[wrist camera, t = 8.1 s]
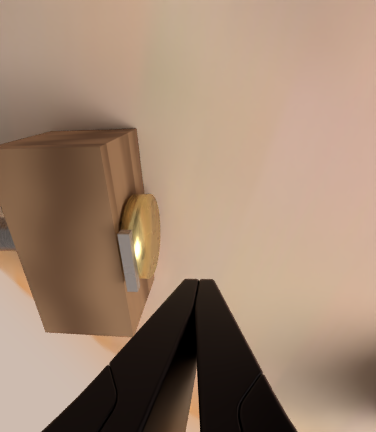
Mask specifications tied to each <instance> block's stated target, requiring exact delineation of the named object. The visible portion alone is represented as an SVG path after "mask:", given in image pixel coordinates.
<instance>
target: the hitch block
mask: <svg viewBox="0 0 376 432" xmlns="http://www.w3.org/2000/svg"><path fill="white" fill-rule="evenodd" d="M133 194H144V188H143V180H142V171H141V163H140V154H139V146H138V138H137V129H109V130H80V131H50V132H46V133H43V134H39V135H35V136H31V137H27V138H24V139H20V140H16V141H12V142H8V143H5V144H1V145H0V206H1V208H2V211H3V214H4V217H5V220H6V222H7V225H8V228H9V231H10V234H11V236H12V239H13V242H14V245H15V248H16V250H17V253H18V256H19V259H20V262H21V264H22V267H23V270H24V273H25V276H26V278H27V281H28V284H29V287H30V290H31V292H32V295H33V298H34V301H35V303H36V306H37V309H38V312H39V315H40V317H41V320H42V323H43V326H44V329H45V332H50V333H67V334H85V335H101V336H118V337H133V336H134V335H135V332H136V329H137V326H138V323H139V321H140V318H141V315H142V312H143V309H144V306H145V303H146V301H147V298H148V295H149V292H150V289H151V286H152V284H153V281H154V274H153V276H152V277H151V278H150V279H139V281H140V288H139V291H138V292H127V287H126V281H125V275H124V270H123V264H122V258H121V252H120V247H119V241H118V235H117V234H118V233H119V231H120V230H121V228H120V222H121V221H122V217H123V212H124V209H125V206H126V203H127V201H128V199H129V198H130V196H131V195H133Z"/></svg>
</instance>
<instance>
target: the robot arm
mask: <svg viewBox="0 0 376 432" xmlns="http://www.w3.org/2000/svg"><path fill="white" fill-rule="evenodd" d="M109 365H110V366H109ZM109 365H107V366H106V367H105V368H104V369H103V370H102V371H101V373H100V374H99V375H98V376H97V377H96V378H95V379H94V380H93V381H92V382H91V383H90V384H89V385H88V387H87V388H86V389H85V390H84V391H83V392H82V393H81V394H80V395H79V396H78V397H77V398H76V399H75V400H74V401H73V402H72V403H71V404H70V405H69V406H68V407H67V408H66V409H65V410H64V411H63V412H62V413H61V414H60V415H59V416H58V417H56V419H54V420H53V421H52V422H51V423H50V424H49V425H48V426H47V427H46V428H45V429H44V430H43V431H42V432H186V425H187V420H188V415H189V409H190V403H191V397H192V392H193V386H194V380H195V374H196V369H197V376H198V395H199V415H200V432H297V430H296V428H295V427H294V425H293V424H292V422H291V421H290V419H289V418H288V416H287V414H286V413H285V411H284V409H283V408H282V406H281V404H280V402H279V401H278V399H277V397H276V395H275V394H274V392H273V390H272V388H271V386H270V384H269V382H268V381H267V379H266V377H265V375H263V372H262V370H261V368H260V366H259V364H258V362H257V360H256V358H255V356H254V355H253V353H252V351H251V349H250V347H249V345H248V343H247V341H246V339H245V338H244V336H243V334H242V332H241V330H240V328H239V326H238V324H237V322H236V321H235V319H234V317H233V315H232V313H231V311H230V309H229V307H228V306H227V304H226V302H225V300H224V298H223V296H222V294H221V292H220V290H219V289H218V287H217V285H216V283H215V281H214V280H213V279H201V280H200V281H199V280H198V279H185V280H184V281H183V282H182V283H181V284H180V285H179V286H178V287H177V288H176V289H175V291H174V292H173V293H172V294H171V295H170V296H169V297H168V298H167V299H166V301H165V302H164V303H163V304H162V305H161V306H160V307H159V308H158V309H157V311H156V312H155V313H154V314H153V315H152V316H151V317H150V318H149V319H148V321H147V322H146V323H145V324H144V325H143V326H142V327H141V328H140V329H139V331H138V332H137V333H136V334H135V335H134V336H133V337H132V338H131V339H130V341H129V342H128V343H127V344H126V345H125V346H124V347H123V348H122V349H121V351H120V352H119V353H118V354H117V355H116V356H115V357H114V358H113V360H112V361H111V362H110V364H109Z"/></svg>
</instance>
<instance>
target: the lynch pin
mask: <svg viewBox="0 0 376 432" xmlns="http://www.w3.org/2000/svg"><path fill="white" fill-rule="evenodd" d="M120 228H121V230H120V231H119V233H118V234H117V235H118V241H119V247H120V252H121V258H122V264H123V270H124V275H125V281H126V287H127V292H138V291H139V288H140V281H139V279H150V278H151V277H152V276H153V274H154V272H155V269H156V266H157V262H158V256H159V248H160V218H159V210H158V205H157V202H156V199H155V197H154V196H153V195H152V194H133V195H131V196H130V198H129V199H128V201H127V203H126V206H125V209H124V212H123V217H122V221H121V222H120ZM0 251H17V250H16V248H15V245H14V242H13V239H12V236H11V234H10V231H9V228H8V225H7V222H6V220H5V217H0Z"/></svg>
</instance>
